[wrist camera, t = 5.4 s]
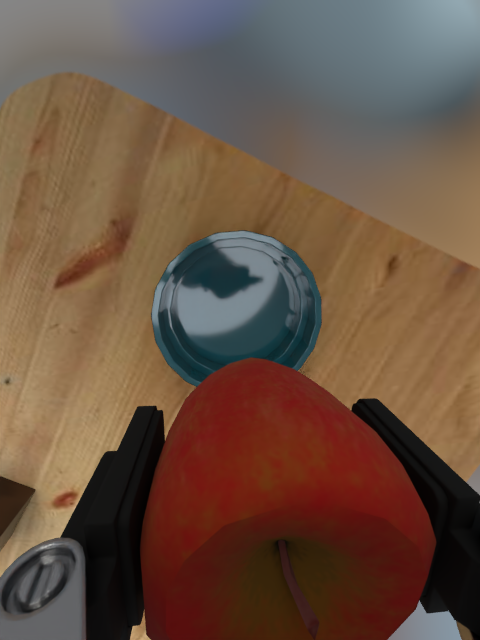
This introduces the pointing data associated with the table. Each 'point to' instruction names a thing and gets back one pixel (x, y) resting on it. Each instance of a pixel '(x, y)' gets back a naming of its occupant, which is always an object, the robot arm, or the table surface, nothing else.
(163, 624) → the apple
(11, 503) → the stand
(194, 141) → the table surface
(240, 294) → the bowl
